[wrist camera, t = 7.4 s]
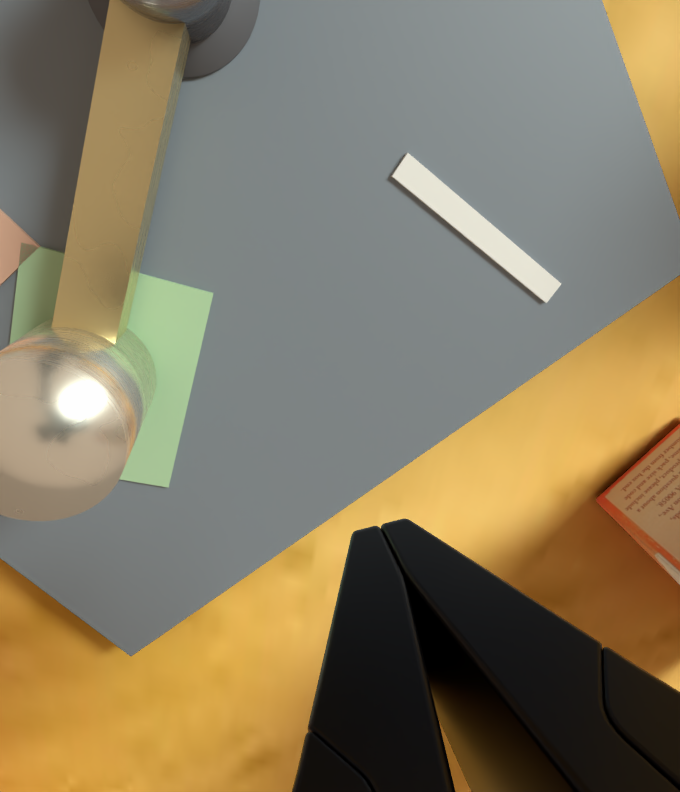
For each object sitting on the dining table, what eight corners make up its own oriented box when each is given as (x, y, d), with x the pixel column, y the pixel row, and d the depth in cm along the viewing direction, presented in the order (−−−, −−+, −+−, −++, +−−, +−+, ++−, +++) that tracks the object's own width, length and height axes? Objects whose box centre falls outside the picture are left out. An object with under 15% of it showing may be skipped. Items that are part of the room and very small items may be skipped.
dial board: (-393, 220, 14) (-453, 223, 13) (401, -457, 12) (419, -530, 11) (136, 633, 22) (130, 659, 21) (670, 260, 20) (698, 264, 19)
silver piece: (99, -140, 12) (17, -331, 8) (266, -56, 13) (280, -181, 9) (9, 417, 16) (-79, 503, 12) (141, 445, 18) (107, 534, 13)
